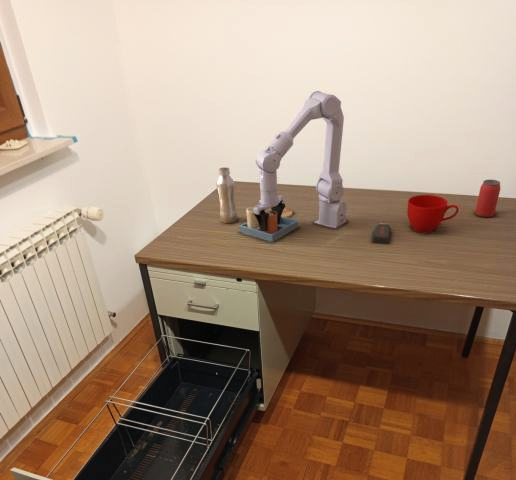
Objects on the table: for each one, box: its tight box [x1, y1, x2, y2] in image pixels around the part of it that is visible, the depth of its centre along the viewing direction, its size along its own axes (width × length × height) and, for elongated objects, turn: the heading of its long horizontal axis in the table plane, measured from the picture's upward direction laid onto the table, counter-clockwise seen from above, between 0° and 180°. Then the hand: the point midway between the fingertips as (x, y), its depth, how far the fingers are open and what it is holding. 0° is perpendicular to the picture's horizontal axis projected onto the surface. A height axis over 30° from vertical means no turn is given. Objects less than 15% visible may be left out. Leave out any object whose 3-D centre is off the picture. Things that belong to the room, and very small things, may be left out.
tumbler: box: [263, 210, 278, 234], centre depth 172 cm, size 5×5×8 cm
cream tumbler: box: [245, 206, 260, 229], centre depth 176 cm, size 5×5×8 cm
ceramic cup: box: [406, 194, 460, 234], centre depth 170 cm, size 13×17×10 cm
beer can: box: [474, 179, 501, 218], centre depth 178 cm, size 7×7×12 cm
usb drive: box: [372, 223, 392, 244], centre depth 170 cm, size 5×12×3 cm, turn 164°
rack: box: [238, 216, 299, 242], centre depth 178 cm, size 15×15×3 cm
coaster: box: [281, 208, 294, 218], centre depth 191 cm, size 9×9×1 cm
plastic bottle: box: [216, 167, 238, 224], centre depth 182 cm, size 6×7×20 cm
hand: (270, 227), depth 173 cm, fingers open, 7 cm apart
